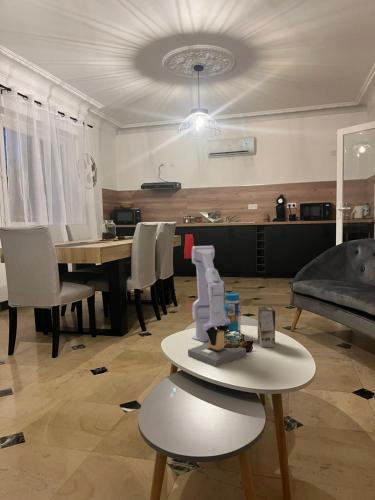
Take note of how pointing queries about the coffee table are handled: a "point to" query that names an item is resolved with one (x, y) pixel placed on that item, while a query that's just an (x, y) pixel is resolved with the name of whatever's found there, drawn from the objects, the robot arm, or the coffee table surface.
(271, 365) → the coffee table surface
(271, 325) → the coffee box
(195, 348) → the socket plate
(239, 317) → the beverage bottle
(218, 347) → the plug
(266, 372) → the coffee table surface
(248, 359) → the coffee table surface
